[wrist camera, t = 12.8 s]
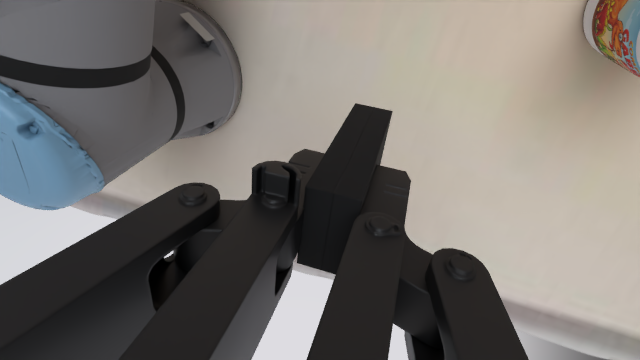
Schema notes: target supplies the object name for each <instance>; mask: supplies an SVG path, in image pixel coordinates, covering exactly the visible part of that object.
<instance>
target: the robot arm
mask: <svg viewBox="0 0 640 360" xmlns="http://www.w3.org/2000/svg"><path fill="white" fill-rule="evenodd" d="M241 88H242V79H241V70H240V65H239V62H238V58H237V55H236V53H235V50H234V48H233V46H232V44H231V42H230V41H229V39H228V37H227V36H226V34H225V33H224V31H223V30H222V29H221V28H220V27H219V25H218V24H217V23H216V22H215V21H214V20H213V19H212V18H211V17H210V16H208V15H207V14H206V13H205V12H203V11H202V10H200V9H199V8H197V7H195V6H193V5H191V4H189V3H186V2H183V1H179V0H0V194H1V195H2V196H4V197H6V198H8V199H10V200H12V201H14V202H17V203H19V204H21V205H24V206H28V207H31V208H35V209H41V210H56V209H60V208H65V207H68V206H70V205H72V204H74V203H76V202H78V201H79V200H81V199H83V198H85V197H86V196H88V195H90V194H92V193H97V192H99V191H101V190H102V189H103V187H104V186H105V185H106V184H108V183H109V182H111V181H112V180H114V179H115V178H117V177H118V176H119V175H121V174H122V173H124V172H125V171H127V170H128V169H130V168H131V167H132V166H134V165H135V164H137V163H138V162H140V161H141V160H143V159H144V158H145V157H147V156H148V155H150V154H151V153H153V152H154V151H156V150H157V149H159V148H160V147H162V146H163V145H164V144H166V143H167V142H169V141H170V140H176V139H182V138H189V137H195V136H201V135H205V134H208V133H210V132H212V131H214V130H216V129H217V128H218V127H220V126H221V125H222V124H224V123H225V122H226V121H227V120H228V119H229V118H230V117H231V116H232V115H233V113H234V112H235V110H236V108H237V105H238V103H239V100H240V96H241ZM391 115H392V111H389V110H384V109H380V108H375V107H370V106H365V105H360V104H356V103H355V105H354V107H353V108H352V110H351V112H350V113H349V115H348V117H347V118H346V120H345V122H344V123H343V125H342V127H341V128H340V130H339V131H338V133H337V135H336V136H335V138H334V140H333V141H332V143H331V145H330V146H329V148H328V150H327V151H326V153H325V154H324V153H320V152H316V151H312V150H308V149H304V150H302V151H300V152H298V153H295V154H294V155H293V157H292V158H291V159H290V161H289V163H286V162H280V161H266V162H263V163H259V164H257V165H256V166H254V167H253V168H252V194H251V196H250V197H249V198H248V199H247V200H240V201H235V200H220V194H219V192H218V190H217V189H216V188H214V187H213V186H212V185H208V184H205V183H188V184H183V185H181V186H178V187H176V188H174V189H172V190H170V191H168V192H167V193H165V194H163V195H161V196H159V197H158V198H156V199H154V200H152V201H150V202H149V203H147V204H145V205H143V206H141V207H140V208H138V209H136V210H134V211H132V212H131V213H129V214H127V215H125V216H123V217H122V218H120V219H118V220H116V221H115V222H113V223H111V224H109V225H107V226H106V227H104V228H102V229H100V230H98V231H97V232H95V233H93V234H91V235H89V236H87V237H86V238H84V239H82V240H80V241H79V242H77V243H75V244H73V245H71V246H70V247H68V248H66V249H64V250H62V251H61V252H59V253H57V254H55V255H53V256H52V257H50V258H48V259H46V260H44V261H43V262H41V263H39V264H38V265H35V266H34V267H32V268H30V269H28V270H27V271H25V272H23V273H21V274H19V275H18V276H16V277H14V278H12V279H11V280H9V281H7V282H5V283H3V284H1V285H0V360H251V359H252V357H253V355H254V353H255V350H256V348H257V346H258V344H259V342H260V340H261V338H262V335H263V334H264V331H265V329H266V327H267V325H268V323H269V321H270V319H271V317H272V315H273V313H274V310H275V308H276V306H277V304H278V301H279V300H280V298H281V295H282V294H283V292H284V289H285V287H286V285H287V283H288V281H289V279H290V277H291V273H292V266H293V261H294V259H295V257H296V255H297V253H298V258H297V263H299V264H302V265H306V266H309V267H313V268H316V269H319V270H323V271H326V272H330V273H333V274H336V276H335V279H334V282H333V285H332V288H331V290H330V293H329V296H328V300H327V302H326V305H325V308H324V311H323V314H322V317H321V319H320V322H319V325H318V328H317V331H316V334H315V337H314V340H313V343H312V346H311V348H310V351H309V354H308V357H307V360H388V353H389V347H390V340H391V332H392V326H393V324H395V325H397V326H398V327H400V328H401V329H403V330H405V341H406V347H407V353H408V358H409V360H528V357H527V355H526V353H525V351H524V348H523V346H522V344H521V342H520V340H519V337H518V335H517V333H516V331H515V329H514V326H513V324H512V322H511V320H510V318H509V316H508V313H507V311H506V309H505V307H504V305H503V302H502V300H501V298H500V296H499V294H498V291H497V289H496V287H495V285H494V283H493V281H492V278H491V276H490V274H489V272H488V270H487V269H486V267H485V266H484V265H483V263H482V262H480V261H479V260H478V259H477V258H476V257H474V256H473V255H471V254H468V253H466V252H464V251H461V250H457V249H453V248H448V249H441V250H438V251H436V252H435V253H434V254H433V255H432V254H431V253H429V252H427V251H425V250H423V249H421V248H420V247H418V246H416V245H415V244H414V243H413V242H412V241H411V240H410V239H409V238H408V236H407V235H406V232H405V228H404V224H405V217H406V211H407V204H408V197H409V190H410V183H411V180H410V178H409V177H408V175H407V173H406V172H405V171H401V170H397V169H393V168H388V167H384V166H380V163H381V158H382V154H383V150H384V145H385V141H386V137H387V132H388V128H389V124H390V119H391ZM171 251H174V253H173V254H172V255H171V256H169V257H167V258H165V259H164V256H166V255H167V254H168V253H170V252H171Z"/></svg>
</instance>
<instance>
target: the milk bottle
mask: <svg viewBox="0 0 640 360" xmlns="http://www.w3.org/2000/svg"><path fill="white" fill-rule="evenodd" d="M583 27H584V33H585V36H586V38H587V40H588V42H589V43H590V45H591V46H592V47H593V48H594V49H595V50H597V51H598V52H599V53H601V54H602V55H604V56H605V57H607V58H608V59H610V60H612V61H613V62H615V63H617V64H618V65H620V66H621V67H623V68H625V69H626V70H628V71H630V72H632V73H633V74H635V75H637V76H638V77H640V0H589V1H588V3H587V6H586V8H585V12H584V18H583Z"/></svg>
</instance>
